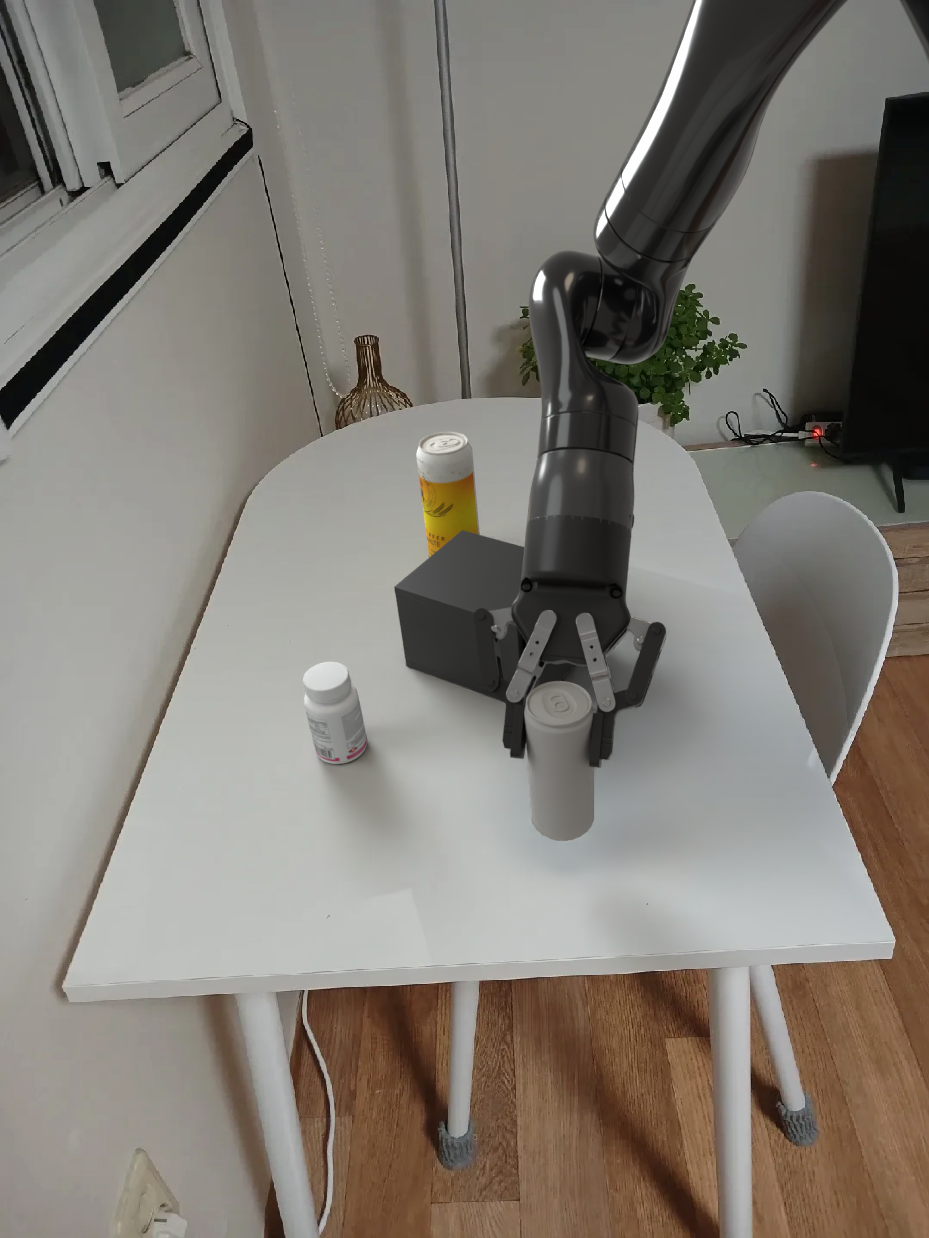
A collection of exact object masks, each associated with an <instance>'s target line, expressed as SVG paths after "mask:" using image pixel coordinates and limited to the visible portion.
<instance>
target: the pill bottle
mask: <svg viewBox="0 0 929 1238" xmlns="http://www.w3.org/2000/svg"><path fill="white" fill-rule="evenodd" d="M302 683H303V688H304V692H305V694H304V696H303V697H304V698H303V705H304V710H305V715H306V718H307V724H308V726H309V727H308V728H309V730H310V734H311V738H312V742H313V743H312V744H313V746H314V750H315V753H316V755H317V757H318V758H319V759H320V760H321V761H323V762H324V763H327V764H332V765H340V764H346V763H350V762H353V761H354V760H356V759H358V758H359V757H360V756H361V755H362V754H363V753H364V752H365V750H366V748H367V744H368V737H367V732H366V726H365V722H364V715H363V711H362V706H361V702H360V697H359V693H358V689H357V688H356V686H355V685H354V683H352V678H351V675H350V671H349V669H348V668H347V666H346V665H344V664H342V663H340V662H337V661H324V662H320V663H317V664H314V665H313V666H311V667H310V668H308V670H306V672H305V673H304V674H303V677H302Z"/></svg>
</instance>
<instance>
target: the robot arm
mask: <svg viewBox="0 0 929 1238" xmlns="http://www.w3.org/2000/svg"><path fill="white" fill-rule="evenodd" d="M848 1H849V0H692V2H691V4H690V8H689V11H688V13H687V16H686V19H685V22H684V25H683V28H682V31H681V33H680V36H679V38H678V41H677V44H676V47H675V49H674V52H673V55H672V57H671V60H670V62H669V66H668V67H667V71H666V73H665V75H664V78H663V81H662V83H661V85H660V87H659V88H658V89H659V90H658V92H657V94H656V96H655V98H654V101H653V102H652V105H651V107H650V109H649V112H648V113H647V116H646V117H645V119H644V121H643V124H642V126H641V127H640V130H639V132H638V133H637V136H636V137H635V139H634V141H633V142H632V145H631V147H630V149H629V150H628V153H627V154H626V156H625V158H624V160H623V162H622V164H621V167H620V168H619V170H618V172H617V174H616V176H615V178H614V179H613V181H612V184H611V185H610V187H609V189H608V191H607V193H606V194H605V196H604V199H603V200H602V203H601V205H600V206H599V209H598V211H597V214H596V216H595V219H594V224H593V234H592V235H593V241H594V245H595V248H596V250H597V253H598V254H599V255H595V254H590V253H587V252H582V251H578V250H569V249H568V250H567V249H566V250H561V251H557V252H556V253H554V254H552V255H550V256H549V257H548V258H547V259H546V260H544V261H543V263H542V264H541V265H540V266H539V269H538V270H537V271H536V273H535V275H534V277H533V280H532V282H531V285H530V289H529V296H528V318H529V319H528V320H529V328H530V329H529V330H530V334H531V340H532V345H533V350H534V355H535V360H536V365H537V366H536V367H537V371H538V380H539V390H540V399H541V415H540V416H541V417H540V427H539V434H538V435H539V437H538V446H537V456H536V458H537V459H536V463H535V467H534V468H535V469H534V472H533V476H532V481H531V484H530V489H529V490H530V491H529V497H528V498H529V499H528V508H527V515H526V526H525V527H526V528H525V536H524V546H523V547H524V555H523V565H522V574H521V583H520V590H519V593H518V595H517V597H516V599H515V600H514V602H513V603H512V605H511V607H509V608H503V609H497V610H491V611H488V610H486V609H484V608H479V609H477V610H476V611H475V612H474V615H473V618H474V626H475V633H476V641H477V648H478V656H479V664H480V671H481V679H482V685H483V687H484V688H485V689H486V690H488V691H490V692H492V693H494V694H496V695H498V696H500V697H502V698H503V699H504V701H505V702H504V703H505V712H504V721H503V722H504V723H503V731H502V738H501V739H502V744H503V749H508V750H509V757H510V758H511V759H519V760H524V759H525V755H526V734H525V718H524V711H525V705H526V699H527V697H528V695H529V693H530V692H531V691H532V690H533V688H534V686H535V683H536V681H537V679H538V678H539V677H540V675H541V674H542V671H543V669H544V667H545V665H546V664H562V663H570V664H573V666H576V667H579V668H580V667H581V668H587V671H588V673H589V677H590V680H591V683H592V688H593V691H594V694H595V698H596V704H597V709H596V712H595V711H594V713H593V724H592V735H591V746H590V757H589V767H594V768H595V769H596V768H597V769H601V768H602V765H603V760H605V761H609V760H610V759H611V757H612V755H613V751H614V741H615V731H616V729H615V728H616V719H617V716H618V714H620V712H622V711H624V710H629V709H633V708H640V707H641V706H643V705H644V702H645V700H646V697H647V694H648V691H649V688H650V686H651V683H652V680H653V676H654V674H655V671H656V668H657V665H658V662H659V660H660V657H661V654H662V651H663V648H664V646H665V642H666V640H667V636H668V635H667V629H666V626H665V625H664V624H663V623H662V622H661V621H653V622H650V621H647V620H644V619H641V618H638V617H635V616H632V615H631V612H630V610H629V607H628V605H627V589H628V588H627V587H628V578H629V577H628V576H629V564H630V555H631V553H630V552H631V544H632V543H631V542H632V531H633V528H634V524H635V515H634V511H635V510H634V508H635V477H634V476H635V475H634V473H635V467H634V466H635V458H636V448H637V437H638V436H637V435H638V425H639V414H640V413H639V401H638V398H637V395H636V394H635V392H634V390H632V389H631V388H630V387H628V386H627V385H626V384H624V383H623V382H621V381H619V380H617V379H615V378H613V377H611V376H610V375H608V374H606V373H604V372H602V371H601V370H599V369H598V368H596V367H595V366H594V365H593V364H592V363H591V362H590V359H589V358H592V359H597V360H602V361H607V362H610V363H615V364H621V365H636V364H638V363H642V362H644V361H646V360H648V359H649V358H651V357H652V356H654V355H655V354H656V353H657V352H658V351H659V350H660V349H661V348H662V346H663V345H664V342H665V341H666V339H667V337H668V333H669V331H670V327H671V323H672V319H673V314H674V310H675V306H676V304H677V303H676V302H677V299H678V295H679V293H680V290H681V287H682V284H683V281H684V278H685V276H686V274H687V271H688V270H689V267H690V264H691V262H692V260H693V258H694V257H695V255H696V254H697V252H698V251H699V250H700V248H701V247H702V245H703V244H704V242H705V240H706V239H707V238H708V236H709V235H710V233H711V232H712V230H713V229H714V227H715V226H716V224H717V223H718V222H719V220H720V218H721V217H722V215H723V214H724V213H725V211H726V209H727V207H729V205H730V203H731V201H732V200H733V198H734V196H735V194H736V193H737V191H738V190H739V188H740V186H741V184H742V182H743V180H744V177H745V175H746V174H747V171H748V169H749V166H750V164H751V161H752V157H753V154H754V151H755V147H756V144H757V141H758V138H759V134H760V130H761V126H762V124H763V121H764V118H765V115H766V113H767V110H768V108H769V106H770V104H771V102H772V100H773V98H774V96H775V94H776V93H777V91H778V90H779V88H780V86H781V84H782V83H783V81H784V79H785V77H786V76H787V75H788V73H789V72H790V70H791V69H792V68H793V66H794V65H795V63H796V62H797V60H798V59H799V58H800V57H801V55H802V54H803V53H804V51H805V50H806V49H807V48H808V47H809V46H810V45H811V43H812V42H813V41H814V40H815V39H816V37H817V36H818V35H819V34H820V32H822V30H823V29H824V28H825V27H826V25H827V24H828V23H830V21H831V20H832V19H833V18H834V17H835V15H836V14H838V12H839V11H840V10H841V9H842V8H843V7H844V6H845V5H846V3H848ZM898 1H899V3H900V5H901V7H902V8H903V11H904V13H905V15H906V17H907V19H908V21H909V23H910V26H911V27H912V30H913V31H914V34H915V35H916V38H917V40H918V42H919V43H920V46H921V48H922V51H923V53H924V55H925V58H926V61H927V64H929V0H898ZM511 622H514V623H515V624H516V626H517V628H518V630H519V631H520V633H521V635H522V636H523V638H524V640H525V642H526V643H527V645H526V648H525V650H524V652H523V654H522V656H521V658H520V660H519V662H518V665H517V670H516V672H515V674H514V676H513V678H512V680H511V683H510V682H508V681H506V680H504V673H503V665H502V658H501V651H500V644H499V640H501V639H503V638H504V637H505V636H506V634H507V627H508V625H509V624H510V623H511ZM627 630H628V631H629V632H630V633H631V634H632V645H633V648H634V649H635V650H636V651H637V652H639V653H638V656H637V659H636V662H635V665H634V667H633V670H632V674H631V676H630V679H629V682H628V684H627V687H626V689H623V690H617V691H615V687H614V684H613V680H612V675H611V671H610V668H609V662H608V660H607V659H608V658H606V654H607V653H608V652H609V650H610V649H611V648H612V647H613V646H614V645H615V644H616V643H617V641H618V640H619V639H620V638H621V637H622V636H623V635H624V633H625V632H626V631H627Z"/></svg>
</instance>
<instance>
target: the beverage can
mask: <svg viewBox="0 0 929 1238" xmlns="http://www.w3.org/2000/svg"><path fill="white" fill-rule="evenodd" d="M594 712H595V708H594V705H593V699H592V696H591V694H590V693H589V692H588V690H587V689H586V688H584V687H583V686H581V685H579V684H577V683H575V682H570V681H566V680H560V681H553V682H547V683H544V684H541V685H539V686H538V687H536V688H534V689H533V690H532V691H531V692H530V693H529V695H528V697H527V699H526V705H525V711H524V718H525V734H526V748H525V751H526V763H527V773H528V774H527V776H528V787H529V801H530V803H529V804H530V817H531V818H530V819H531V824H532V825H533V827H534V829H535V830H536V831H537V832H538V833H539V834H540V835H542V836H544V837H546V838H547V839H549V840H551V841H552V840H553V841H556V842H568V841H573V840H576V839H580V838H581V837H582V836H584V835H585V834H586V833H588V832H589V831H590V829H591V828H592V827H593V824H594V821H595V767H589V757H590V746H591V735H592V724H593V713H594Z"/></svg>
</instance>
